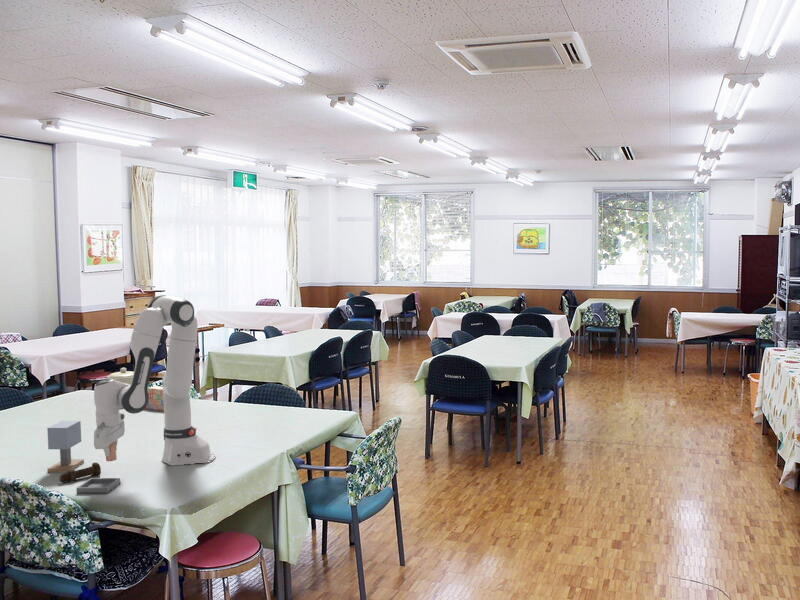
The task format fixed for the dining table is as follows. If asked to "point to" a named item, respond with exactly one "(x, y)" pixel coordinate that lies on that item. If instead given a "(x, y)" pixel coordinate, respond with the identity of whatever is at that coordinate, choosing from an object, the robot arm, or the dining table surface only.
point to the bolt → (80, 473)
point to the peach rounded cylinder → (112, 452)
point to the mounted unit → (64, 444)
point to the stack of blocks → (155, 398)
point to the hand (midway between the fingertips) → (111, 453)
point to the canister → (122, 376)
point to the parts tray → (98, 486)
